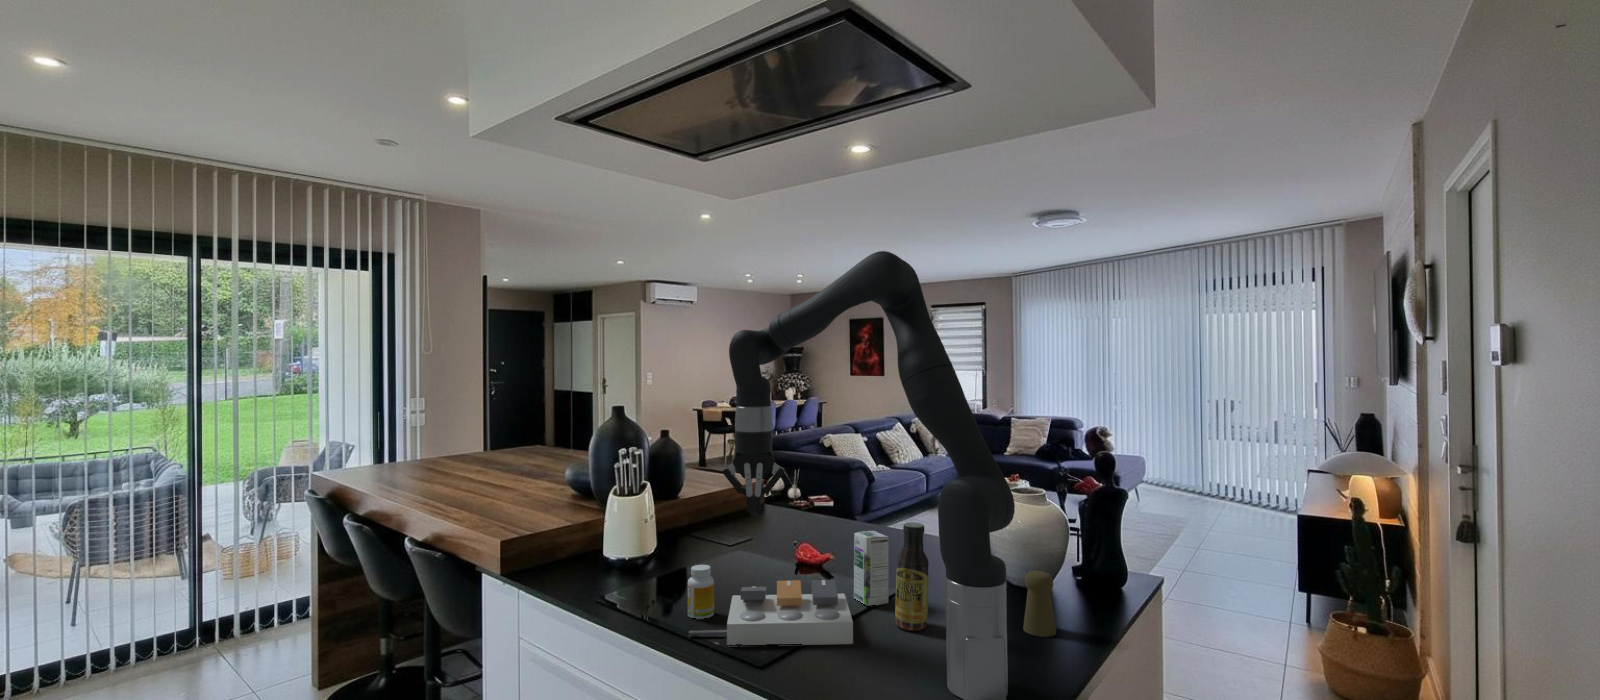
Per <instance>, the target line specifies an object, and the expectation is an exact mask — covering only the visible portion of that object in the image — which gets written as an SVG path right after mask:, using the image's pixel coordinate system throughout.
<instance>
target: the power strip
mask: <svg viewBox="0 0 1600 700" xmlns="http://www.w3.org/2000/svg"><path fill="white" fill-rule="evenodd" d="M801 594H802V605H799V606H777V594H766V599H764V602H761V603H743V600H741V594H740V595H734V594H733V595H732V596H731V601H730V605H729V606H730V608H729V612H728V616H727V617H728V618H727V622H726V629H713V630H712V629H711V630H710V629H709V630H708V629H707V630H705V629H704V630H703V629H702V630H701V629H700V630H689V631H688V637H689V636H692V635H698V636H727V637H726V646H727V645H730V644H731V645H736V644H742V645H766V644H802V645H801V646H806V645H807V646H812V645H813V646H814V645H818V646H820V645H823V646H824V645H826V646H827V645H854V621H853V618H852V614H851V611H850V608H849V603H848V601H847V597H846V594H845V593H837V595H838V605H813V599H812V593H809V594H808V593H801Z"/></svg>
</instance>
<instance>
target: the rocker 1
mask: <svg viewBox="0 0 1600 700" xmlns="http://www.w3.org/2000/svg"><path fill="white" fill-rule="evenodd" d="M740 595H741V600H743V603H761V602H764V599H766V595H767V586H756V585H755V586H753V585H752V586H742V587H741V589H740Z"/></svg>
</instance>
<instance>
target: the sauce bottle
mask: <svg viewBox="0 0 1600 700" xmlns="http://www.w3.org/2000/svg"><path fill="white" fill-rule="evenodd" d="M902 531H903V544H902V545H903V546H902V548H901V550H900V552H899V554H898V557H897V563H896V564H897V565H896V579H895V582H896V583H895V610H894V611H895V612H894V614H895V615H894V616H895V624H896V626H897V627H899V628H900V629H901V630H905V631H912V632H913V631H915V632H920V631H922V630H924V629H925V628H927V623H928V618H929V617H928V616H929V615H928V613H929V609H928V608H929V579H930V577H929V576H930V575H929V559H928V557H927V555H926V553H925V551H924V533H925V525H924V524H923V523H921V522H914V521H913V522H912V521H909V522H904V523H903V527H902Z"/></svg>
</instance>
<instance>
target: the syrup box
mask: <svg viewBox="0 0 1600 700" xmlns="http://www.w3.org/2000/svg"><path fill="white" fill-rule="evenodd" d="M853 535H854V537H853V539H854V540H853V555H854V556H853V599H854V598H855V599H856V600H855V601H857V600H858V601H860V602H861V603H863V604H865V605H876V606H881V605H885V604H889V535H884V534H882V533H879V532H877V531H876V530H865V531H864V530H863V531H858V532H857V531H856V532H855V533H853ZM858 601H857V602H858ZM860 602H859V603H860ZM861 603H860V604H861ZM863 604H862V605H863Z"/></svg>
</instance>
